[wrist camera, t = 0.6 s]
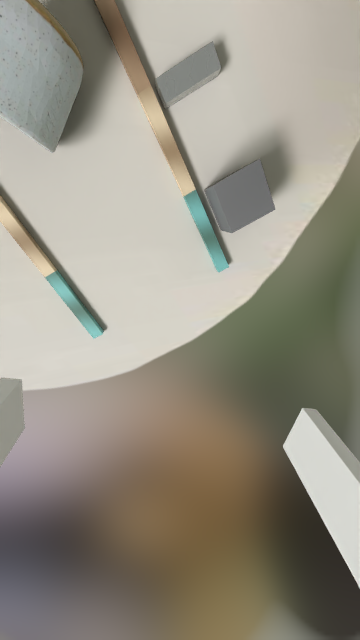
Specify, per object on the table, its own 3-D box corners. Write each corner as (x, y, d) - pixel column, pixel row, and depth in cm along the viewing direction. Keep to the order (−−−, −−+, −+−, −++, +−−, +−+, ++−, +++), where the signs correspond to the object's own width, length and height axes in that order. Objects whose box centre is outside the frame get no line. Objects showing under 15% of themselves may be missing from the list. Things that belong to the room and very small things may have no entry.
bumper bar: (155, 86, 24) (155, 78, 23) (209, 51, 23) (212, 41, 22) (165, 109, 25) (165, 103, 23) (217, 76, 24) (221, 67, 23)
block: (204, 190, 28) (213, 185, 24) (242, 167, 28) (259, 158, 23) (220, 230, 30) (232, 233, 26) (257, 209, 30) (275, 209, 25)
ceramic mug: (98, 78, 23) (71, 18, 16) (65, 161, 26) (29, 140, 19) (-19, -14, 20) (-113, -136, 13) (-44, 89, 23) (-134, 32, 16)
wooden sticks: (-99, 90, 22) (-108, 86, 22) (89, -53, 20) (87, -63, 19) (95, 336, 34) (93, 338, 34) (227, 265, 32) (229, 266, 31)
